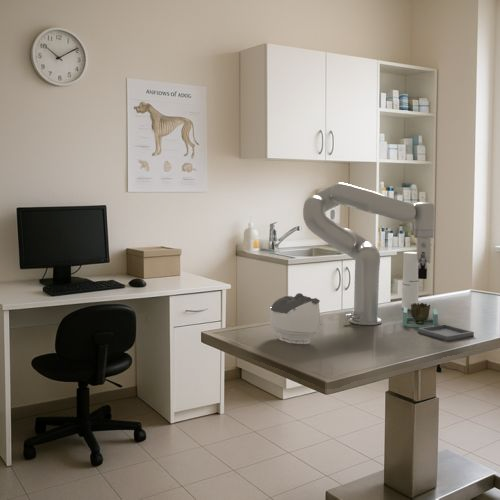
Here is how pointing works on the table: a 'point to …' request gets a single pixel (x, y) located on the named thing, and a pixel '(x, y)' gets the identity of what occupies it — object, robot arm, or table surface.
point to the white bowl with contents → (295, 318)
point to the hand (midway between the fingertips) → (422, 276)
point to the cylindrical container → (410, 279)
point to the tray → (445, 332)
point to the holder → (434, 320)
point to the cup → (420, 312)
